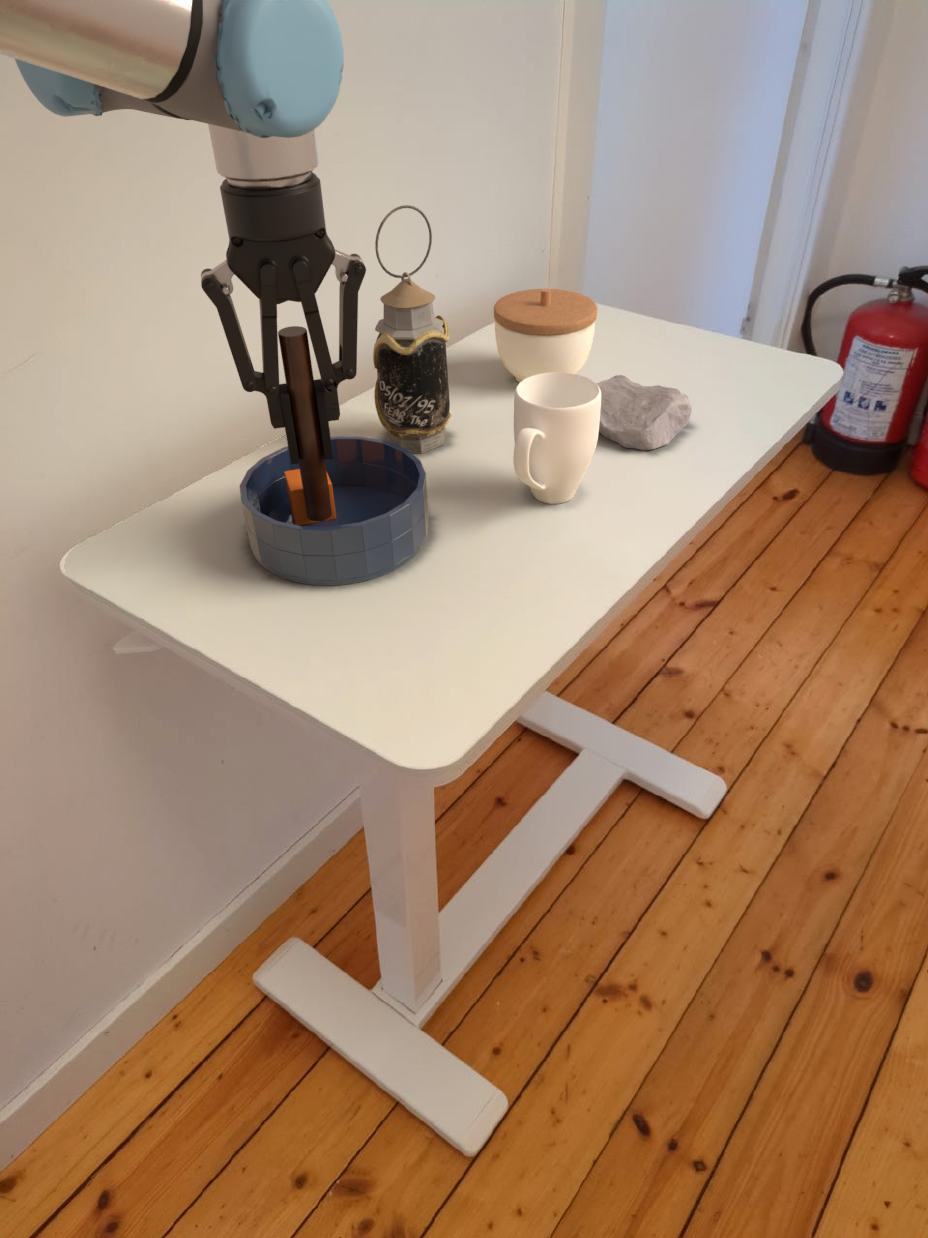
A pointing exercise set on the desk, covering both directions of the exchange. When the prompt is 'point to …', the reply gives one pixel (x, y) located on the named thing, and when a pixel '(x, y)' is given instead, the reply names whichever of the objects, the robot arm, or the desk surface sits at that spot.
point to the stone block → (641, 413)
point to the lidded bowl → (544, 331)
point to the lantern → (411, 363)
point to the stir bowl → (340, 514)
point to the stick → (305, 421)
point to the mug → (555, 433)
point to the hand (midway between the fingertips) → (310, 454)
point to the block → (302, 497)
